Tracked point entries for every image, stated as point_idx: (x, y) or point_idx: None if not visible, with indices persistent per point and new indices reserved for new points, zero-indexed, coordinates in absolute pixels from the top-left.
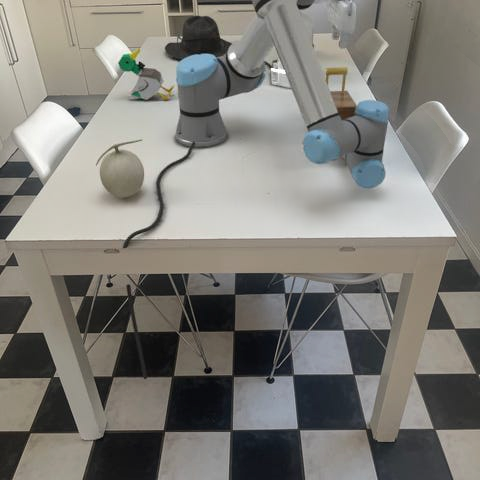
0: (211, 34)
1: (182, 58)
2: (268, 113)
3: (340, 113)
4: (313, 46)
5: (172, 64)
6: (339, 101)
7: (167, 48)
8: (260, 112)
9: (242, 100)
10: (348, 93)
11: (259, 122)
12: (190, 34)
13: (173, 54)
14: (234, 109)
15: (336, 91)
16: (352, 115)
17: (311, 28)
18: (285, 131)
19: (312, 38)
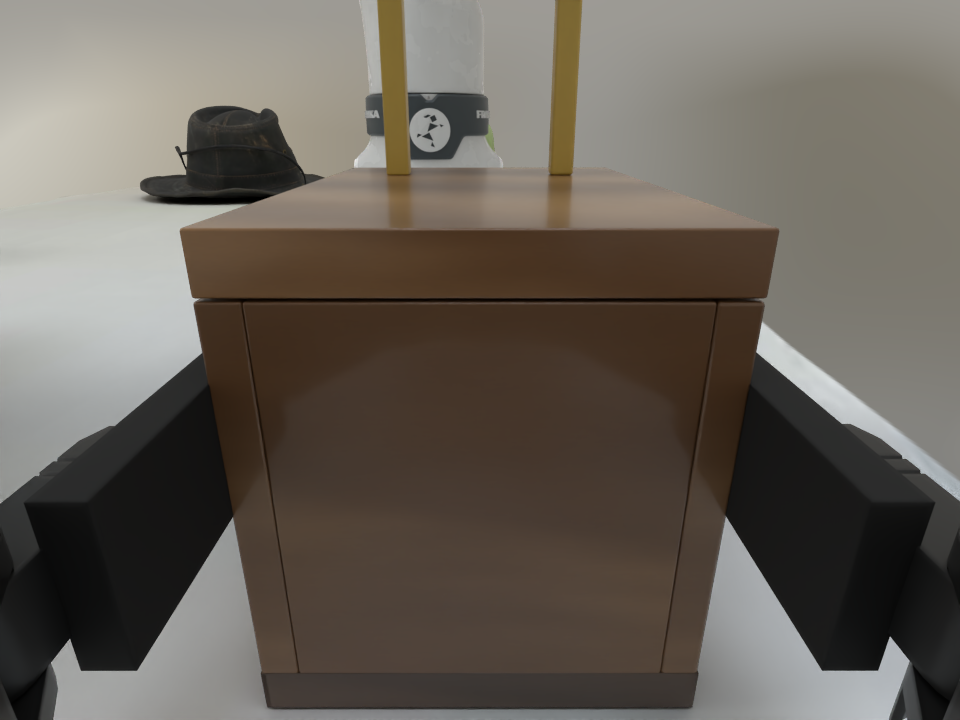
0: (252, 139)
1: (161, 193)
2: (169, 338)
3: (473, 341)
4: (483, 100)
5: (126, 206)
6: (496, 194)
7: (156, 179)
8: (136, 332)
9: (148, 283)
10: (616, 172)
11: (18, 391)
12: (195, 136)
13: (152, 187)
14: (37, 314)
15: (514, 168)
16: (681, 382)
17: (468, 18)
18: None
19: (477, 66)
